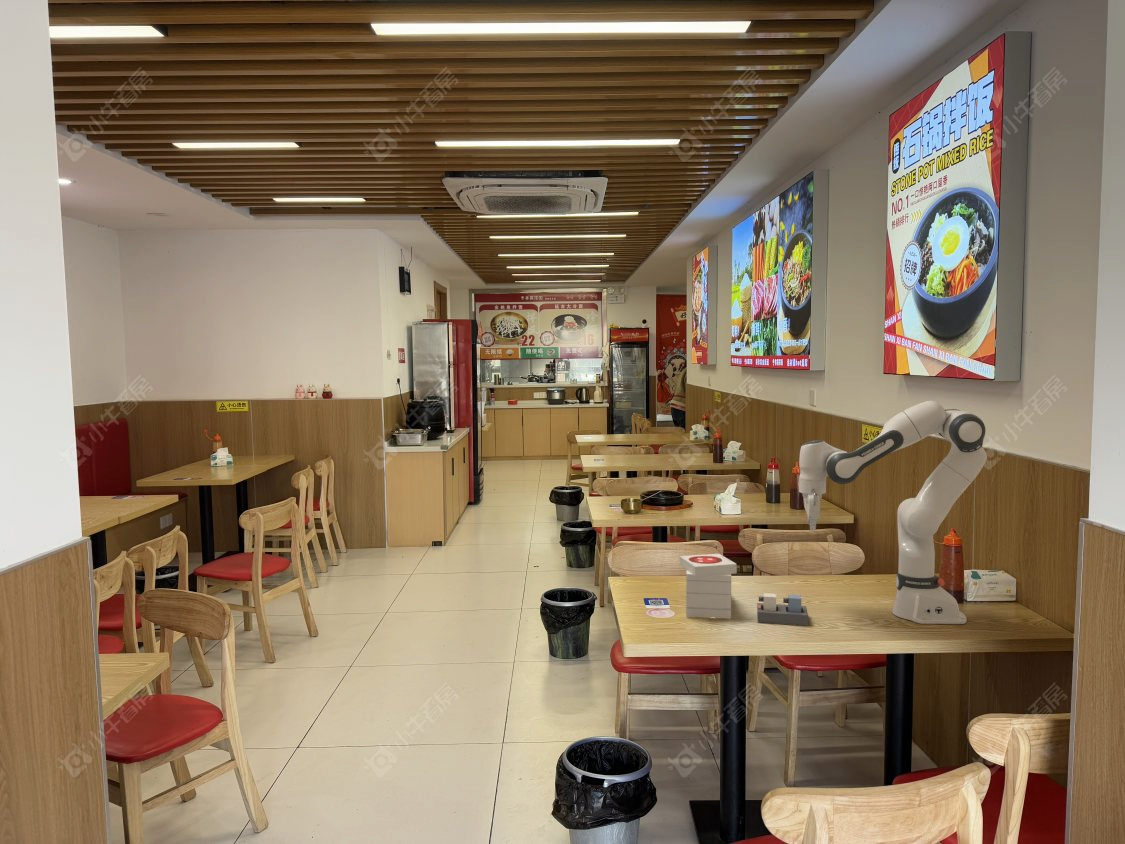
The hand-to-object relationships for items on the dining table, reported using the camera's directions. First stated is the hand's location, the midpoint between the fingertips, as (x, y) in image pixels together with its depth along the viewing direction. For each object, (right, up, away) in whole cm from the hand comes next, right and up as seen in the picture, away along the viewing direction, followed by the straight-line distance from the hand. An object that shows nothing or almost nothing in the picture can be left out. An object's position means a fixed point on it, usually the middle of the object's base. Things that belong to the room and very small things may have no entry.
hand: (811, 527), depth 264 cm
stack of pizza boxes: (-35, -29, +7) cm, 46 cm away
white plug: (-16, -30, -6) cm, 34 cm away
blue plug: (-8, -30, -8) cm, 32 cm away
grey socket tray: (-12, -30, -7) cm, 33 cm away
